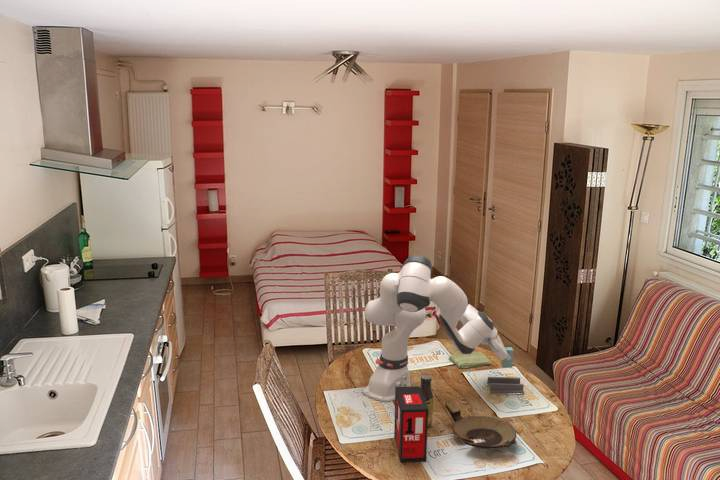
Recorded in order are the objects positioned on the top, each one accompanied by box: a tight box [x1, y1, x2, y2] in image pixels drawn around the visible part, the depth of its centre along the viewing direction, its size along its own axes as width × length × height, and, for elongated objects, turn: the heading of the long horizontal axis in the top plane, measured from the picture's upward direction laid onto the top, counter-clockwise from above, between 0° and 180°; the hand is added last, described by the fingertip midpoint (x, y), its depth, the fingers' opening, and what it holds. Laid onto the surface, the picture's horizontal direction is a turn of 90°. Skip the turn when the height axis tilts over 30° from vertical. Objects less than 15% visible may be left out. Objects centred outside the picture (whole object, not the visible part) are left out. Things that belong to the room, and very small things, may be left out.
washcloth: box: [448, 351, 493, 370], centre depth 283 cm, size 13×18×3 cm
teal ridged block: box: [500, 346, 514, 369], centre depth 254 cm, size 4×3×8 cm
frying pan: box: [444, 402, 517, 450], centre depth 219 cm, size 22×30×8 cm
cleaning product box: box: [393, 385, 428, 464], centre depth 210 cm, size 16×9×20 cm, turn 4°
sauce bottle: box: [420, 374, 434, 429], centre depth 226 cm, size 6×6×20 cm
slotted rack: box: [486, 376, 525, 395], centre depth 257 cm, size 14×10×4 cm
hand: (508, 356), depth 254 cm, fingers closed on teal ridged block, 3 cm apart
